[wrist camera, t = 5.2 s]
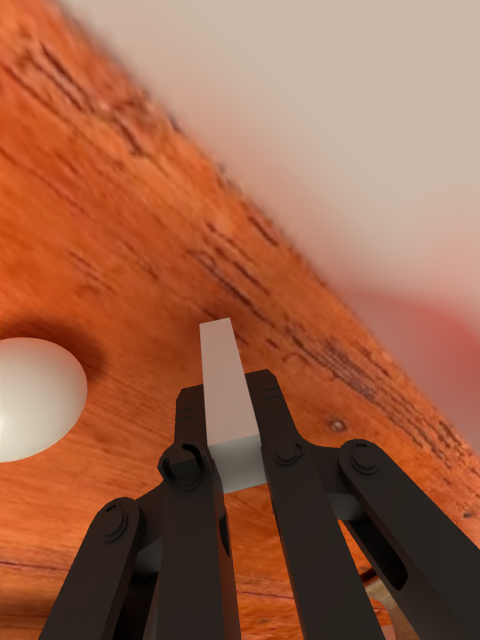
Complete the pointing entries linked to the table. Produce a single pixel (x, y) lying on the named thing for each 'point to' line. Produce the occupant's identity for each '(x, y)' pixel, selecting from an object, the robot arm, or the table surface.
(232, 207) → the table surface
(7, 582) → the table surface
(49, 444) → the cue ball
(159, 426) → the table surface
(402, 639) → the tan flanged block
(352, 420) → the table surface
